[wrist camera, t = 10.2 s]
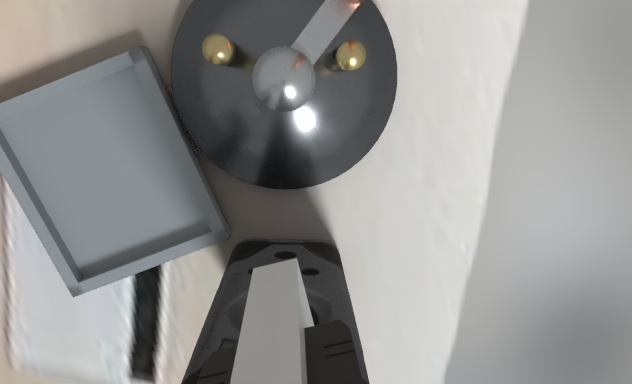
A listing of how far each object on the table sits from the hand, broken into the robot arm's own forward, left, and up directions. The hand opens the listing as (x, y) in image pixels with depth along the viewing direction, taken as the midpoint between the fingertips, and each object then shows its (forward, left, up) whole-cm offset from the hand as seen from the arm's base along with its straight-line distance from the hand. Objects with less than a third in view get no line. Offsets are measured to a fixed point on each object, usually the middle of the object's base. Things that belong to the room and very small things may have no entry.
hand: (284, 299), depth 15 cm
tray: (-14, +5, -23) cm, 27 cm away
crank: (+5, +9, -21) cm, 23 cm away
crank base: (+2, +7, -23) cm, 24 cm away
